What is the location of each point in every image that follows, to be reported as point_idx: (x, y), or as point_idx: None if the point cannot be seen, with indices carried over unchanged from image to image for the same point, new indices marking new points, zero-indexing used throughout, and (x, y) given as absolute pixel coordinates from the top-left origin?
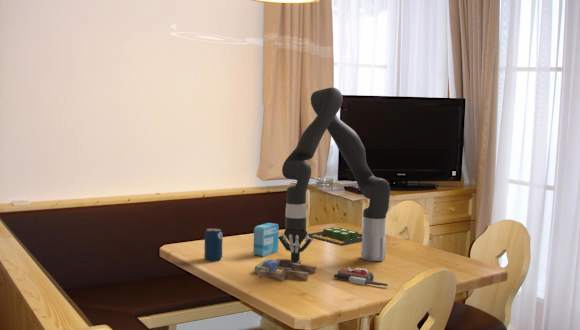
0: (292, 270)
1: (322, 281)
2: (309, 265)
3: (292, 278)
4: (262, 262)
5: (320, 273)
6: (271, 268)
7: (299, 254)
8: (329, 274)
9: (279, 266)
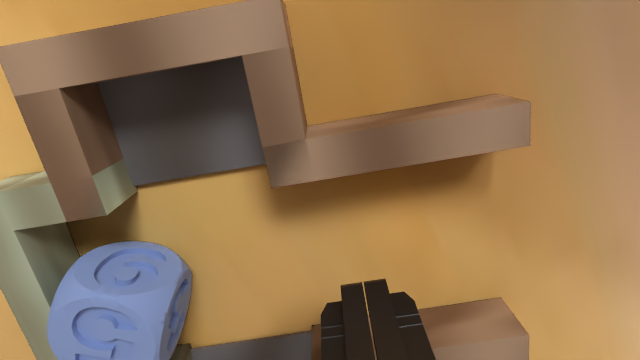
0: None
1: (615, 280)
2: (457, 131)
3: None
4: (17, 302)
5: (542, 94)
6: (176, 342)
7: (432, 356)
8: (630, 73)
9: (120, 133)
